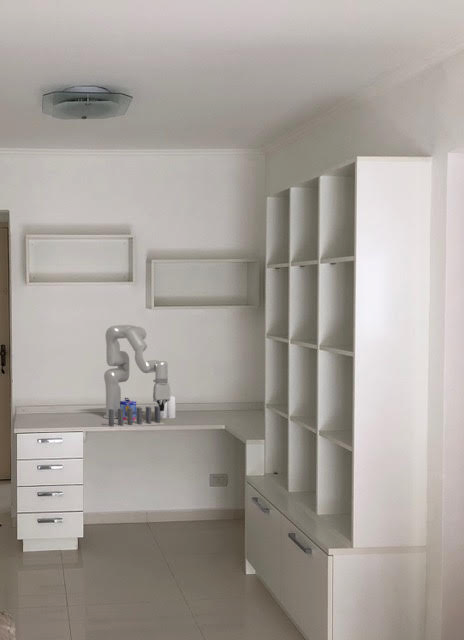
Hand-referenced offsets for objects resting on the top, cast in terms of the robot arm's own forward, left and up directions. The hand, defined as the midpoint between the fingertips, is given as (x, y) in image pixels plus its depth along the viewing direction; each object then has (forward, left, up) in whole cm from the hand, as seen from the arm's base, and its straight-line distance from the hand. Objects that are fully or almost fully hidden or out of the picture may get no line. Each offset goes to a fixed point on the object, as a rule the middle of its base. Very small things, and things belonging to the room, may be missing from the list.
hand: (161, 410), depth 586 cm
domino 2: (0, -27, -7) cm, 28 cm away
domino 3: (0, -21, -7) cm, 22 cm away
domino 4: (0, -15, -7) cm, 16 cm away
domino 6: (0, -3, -7) cm, 8 cm away
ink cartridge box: (-20, -15, -8) cm, 26 cm away
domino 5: (0, -9, -7) cm, 11 cm away
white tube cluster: (-20, +11, -8) cm, 24 cm away
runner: (0, -18, -8) cm, 19 cm away
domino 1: (0, -33, -7) cm, 33 cm away
